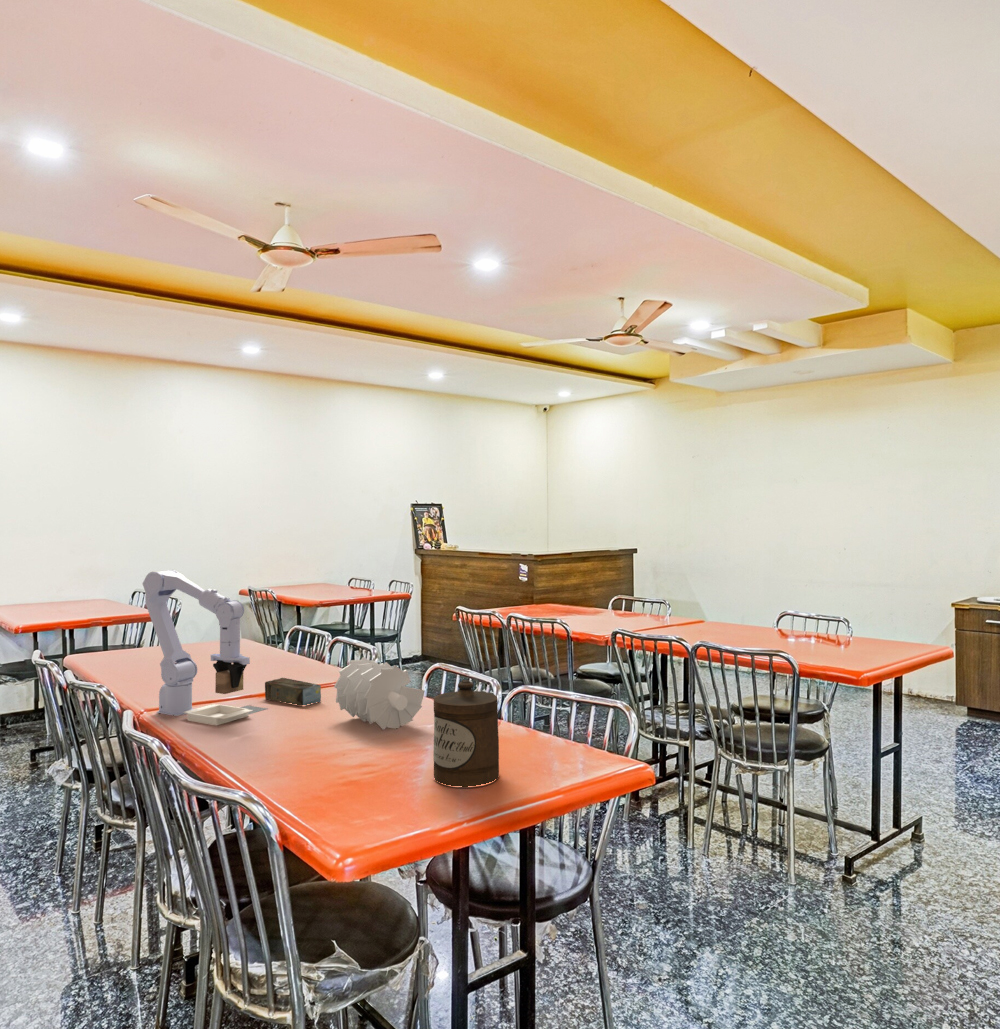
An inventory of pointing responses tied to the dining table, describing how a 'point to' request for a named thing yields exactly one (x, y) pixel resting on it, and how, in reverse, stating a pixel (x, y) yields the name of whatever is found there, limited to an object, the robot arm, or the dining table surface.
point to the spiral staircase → (377, 693)
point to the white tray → (216, 714)
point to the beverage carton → (292, 691)
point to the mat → (254, 709)
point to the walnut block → (226, 683)
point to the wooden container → (466, 737)
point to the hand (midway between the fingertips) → (229, 686)
